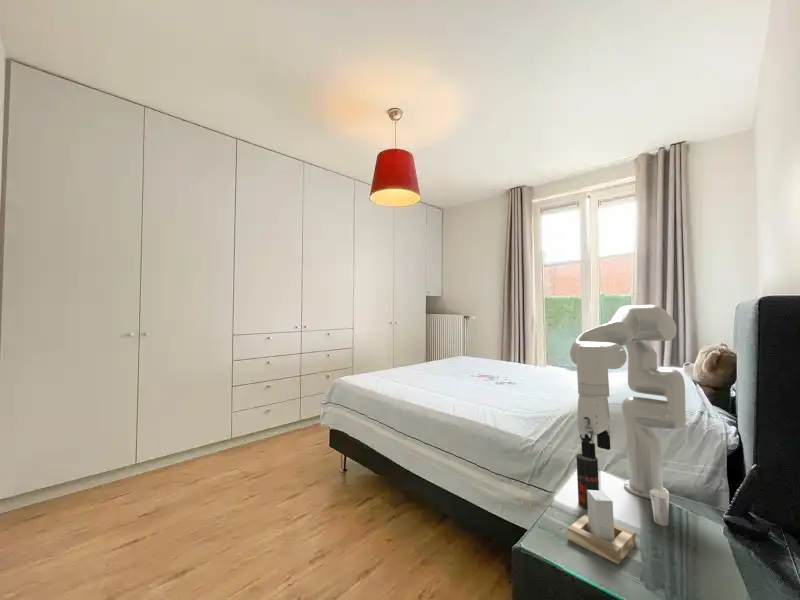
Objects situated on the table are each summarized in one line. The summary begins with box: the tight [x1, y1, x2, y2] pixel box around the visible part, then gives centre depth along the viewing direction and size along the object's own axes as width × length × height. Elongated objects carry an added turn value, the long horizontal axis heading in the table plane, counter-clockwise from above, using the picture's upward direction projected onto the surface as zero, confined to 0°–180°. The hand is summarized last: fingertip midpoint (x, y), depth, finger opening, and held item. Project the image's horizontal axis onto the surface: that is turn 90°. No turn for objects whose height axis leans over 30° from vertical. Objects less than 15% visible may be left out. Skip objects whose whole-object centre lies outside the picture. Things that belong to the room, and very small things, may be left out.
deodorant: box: [576, 453, 600, 511], centre depth 108 cm, size 6×6×15 cm
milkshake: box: [650, 483, 670, 527], centre depth 99 cm, size 4×5×10 cm
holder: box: [567, 511, 637, 565], centre depth 90 cm, size 12×12×3 cm
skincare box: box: [587, 490, 615, 542], centre depth 90 cm, size 6×4×12 cm
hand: (596, 452), depth 93 cm, fingers open, 9 cm apart
